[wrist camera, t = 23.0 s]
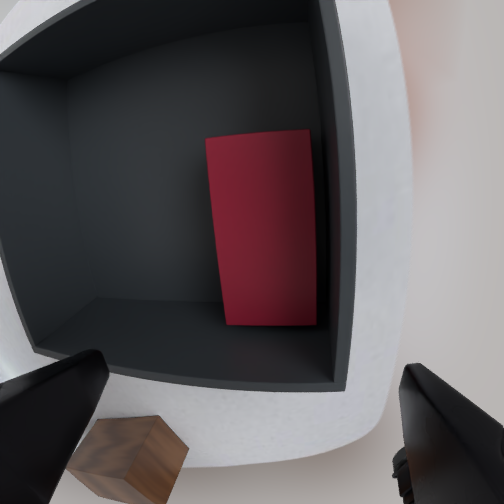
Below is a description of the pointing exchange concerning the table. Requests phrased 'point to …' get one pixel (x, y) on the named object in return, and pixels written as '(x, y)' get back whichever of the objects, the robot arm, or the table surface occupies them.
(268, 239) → the red rectangular block
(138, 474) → the wooden stand
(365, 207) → the table surface
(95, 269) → the storage bin
